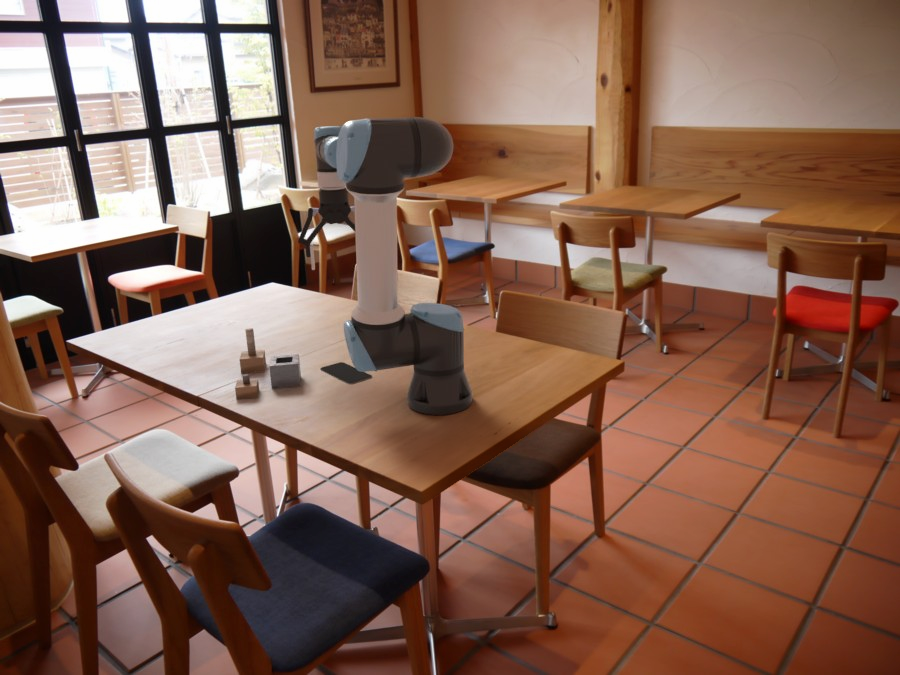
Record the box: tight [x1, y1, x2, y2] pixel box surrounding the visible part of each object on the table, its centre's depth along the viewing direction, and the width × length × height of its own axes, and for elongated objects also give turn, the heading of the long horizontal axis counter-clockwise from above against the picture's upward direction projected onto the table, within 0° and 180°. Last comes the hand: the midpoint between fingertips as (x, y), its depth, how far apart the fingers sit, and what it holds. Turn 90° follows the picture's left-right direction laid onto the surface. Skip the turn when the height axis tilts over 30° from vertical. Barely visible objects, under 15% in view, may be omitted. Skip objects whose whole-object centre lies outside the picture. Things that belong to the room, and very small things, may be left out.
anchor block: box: [234, 373, 260, 400], centre depth 180 cm, size 5×5×5 cm
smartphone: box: [320, 361, 373, 385], centre depth 193 cm, size 7×1×15 cm
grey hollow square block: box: [268, 354, 302, 390], centre depth 187 cm, size 7×7×6 cm
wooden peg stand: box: [239, 327, 267, 375], centre depth 196 cm, size 6×6×11 cm
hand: (339, 267), depth 200 cm, fingers open, 13 cm apart
